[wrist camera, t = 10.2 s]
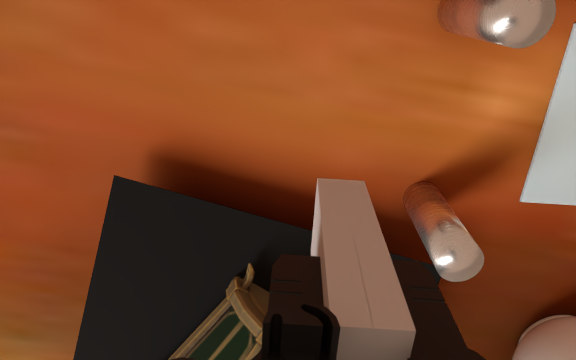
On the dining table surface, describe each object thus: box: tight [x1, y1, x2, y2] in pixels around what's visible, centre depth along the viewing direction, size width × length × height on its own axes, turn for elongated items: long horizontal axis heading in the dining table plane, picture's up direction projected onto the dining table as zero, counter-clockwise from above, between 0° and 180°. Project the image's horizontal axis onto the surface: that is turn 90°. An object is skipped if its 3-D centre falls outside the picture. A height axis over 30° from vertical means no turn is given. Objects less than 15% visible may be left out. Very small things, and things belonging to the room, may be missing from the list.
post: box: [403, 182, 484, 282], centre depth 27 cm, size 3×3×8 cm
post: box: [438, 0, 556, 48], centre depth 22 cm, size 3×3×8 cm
